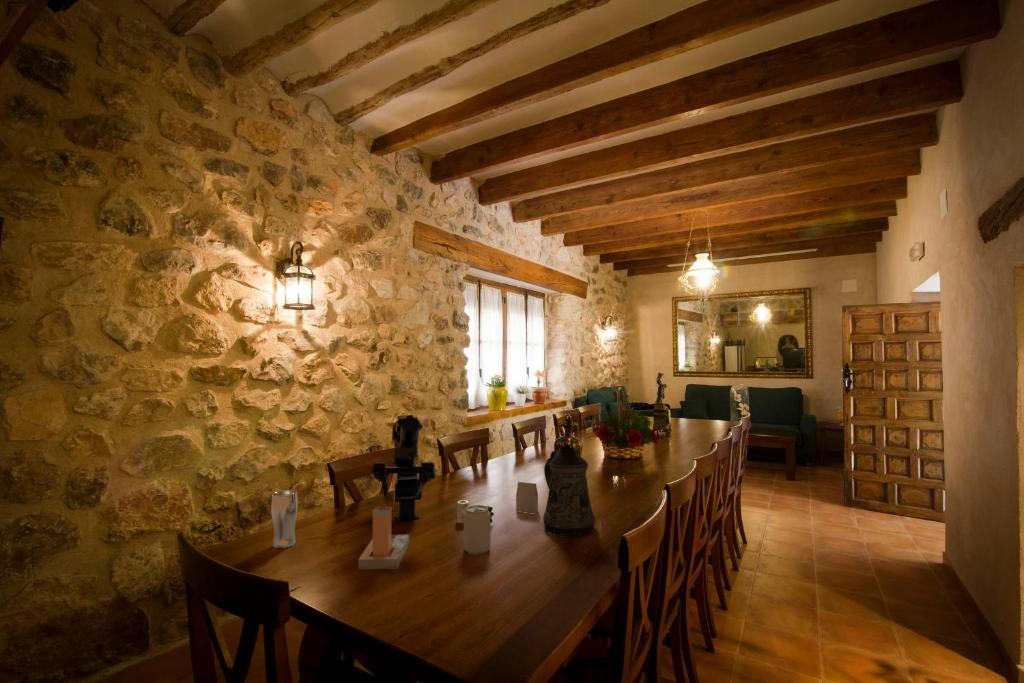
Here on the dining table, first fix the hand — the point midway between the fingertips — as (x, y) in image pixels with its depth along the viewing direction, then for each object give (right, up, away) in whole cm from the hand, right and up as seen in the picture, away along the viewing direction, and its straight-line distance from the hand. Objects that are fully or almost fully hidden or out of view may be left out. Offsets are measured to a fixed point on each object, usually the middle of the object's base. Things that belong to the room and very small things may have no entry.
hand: (400, 496), depth 142 cm
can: (+23, -14, -6) cm, 27 cm away
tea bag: (+38, -14, +27) cm, 49 cm away
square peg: (-2, -13, -13) cm, 19 cm away
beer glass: (-33, -14, -2) cm, 36 cm away
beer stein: (+50, -14, +12) cm, 53 cm away
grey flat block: (-2, -13, -9) cm, 16 cm away
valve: (+20, -14, +15) cm, 29 cm away
